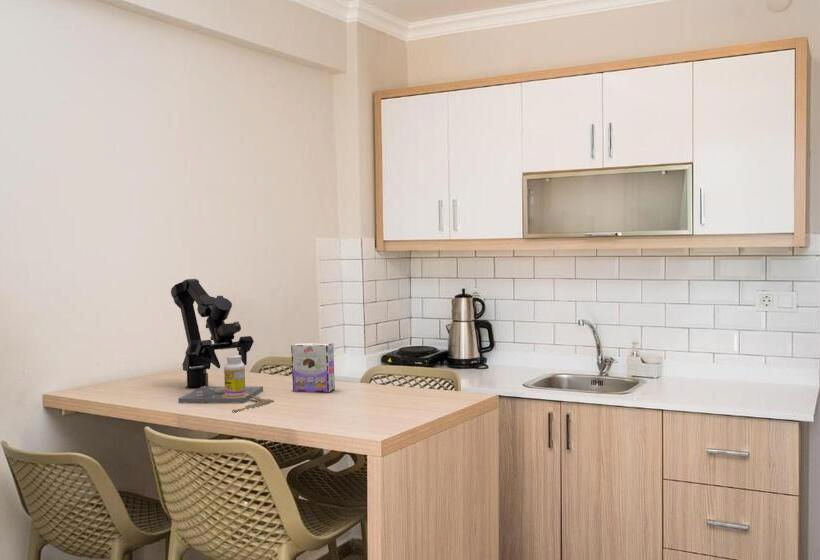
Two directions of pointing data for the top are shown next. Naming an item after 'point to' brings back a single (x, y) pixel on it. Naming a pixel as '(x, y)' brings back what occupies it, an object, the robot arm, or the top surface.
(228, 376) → the supplement bottle
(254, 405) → the brown flat branched piece
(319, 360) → the candy box
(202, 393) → the dial board
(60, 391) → the top surface
